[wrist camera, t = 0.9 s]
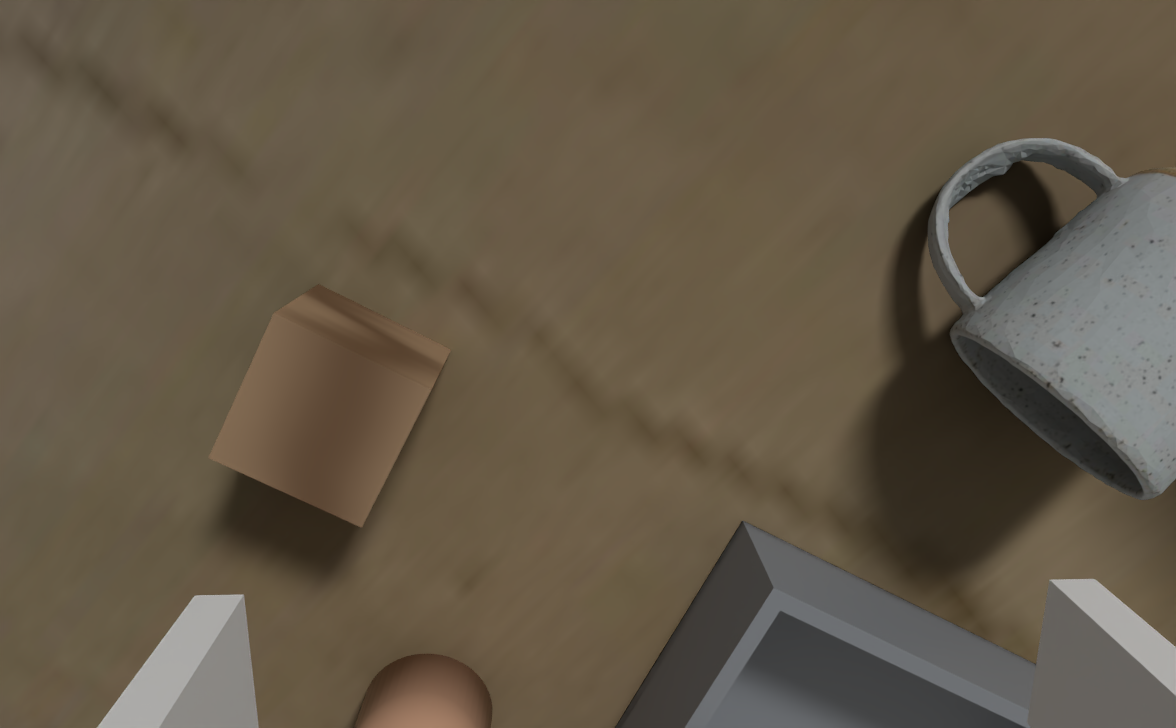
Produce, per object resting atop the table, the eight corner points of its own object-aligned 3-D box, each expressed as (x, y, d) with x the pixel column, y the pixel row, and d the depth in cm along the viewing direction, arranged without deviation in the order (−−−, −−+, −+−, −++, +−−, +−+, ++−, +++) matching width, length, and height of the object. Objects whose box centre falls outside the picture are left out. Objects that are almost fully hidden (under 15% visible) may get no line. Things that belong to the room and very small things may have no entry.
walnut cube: (262, 407, 31) (208, 458, 27) (319, 283, 30) (273, 312, 26) (391, 468, 32) (361, 527, 27) (451, 349, 31) (431, 389, 26)
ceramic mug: (1227, 291, 31) (1432, 337, 24) (1050, 453, 33) (1191, 544, 25) (1033, 77, 29) (1188, 55, 22) (853, 258, 31) (943, 295, 23)
